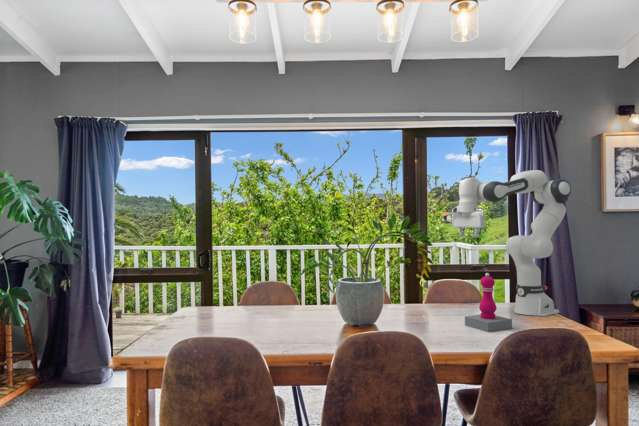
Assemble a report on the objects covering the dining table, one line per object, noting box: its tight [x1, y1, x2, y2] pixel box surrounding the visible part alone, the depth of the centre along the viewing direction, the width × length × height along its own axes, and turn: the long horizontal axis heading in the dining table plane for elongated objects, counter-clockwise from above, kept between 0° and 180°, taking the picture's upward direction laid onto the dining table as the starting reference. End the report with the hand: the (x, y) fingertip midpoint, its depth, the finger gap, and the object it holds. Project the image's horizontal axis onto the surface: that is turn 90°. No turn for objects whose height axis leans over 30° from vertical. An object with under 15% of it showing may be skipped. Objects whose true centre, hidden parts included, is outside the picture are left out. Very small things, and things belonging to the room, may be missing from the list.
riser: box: [464, 313, 513, 333], centre depth 210 cm, size 14×14×4 cm
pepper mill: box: [478, 272, 497, 319], centre depth 210 cm, size 7×7×20 cm
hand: (468, 236), depth 234 cm, fingers open, 8 cm apart
